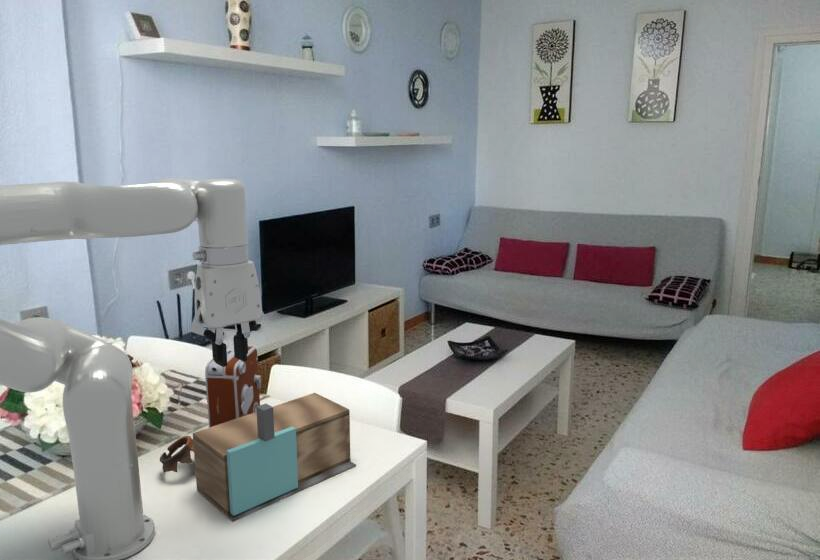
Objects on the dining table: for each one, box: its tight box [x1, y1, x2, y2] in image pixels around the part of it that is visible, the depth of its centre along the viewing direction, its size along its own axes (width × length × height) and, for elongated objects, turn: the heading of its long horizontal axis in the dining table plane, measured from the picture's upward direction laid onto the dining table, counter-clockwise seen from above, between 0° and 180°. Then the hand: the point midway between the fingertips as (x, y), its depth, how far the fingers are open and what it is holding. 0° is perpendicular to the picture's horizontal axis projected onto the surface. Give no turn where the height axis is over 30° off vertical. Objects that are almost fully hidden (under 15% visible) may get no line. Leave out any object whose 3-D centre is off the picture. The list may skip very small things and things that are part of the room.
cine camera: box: [204, 342, 262, 428], centre depth 144 cm, size 9×19×20 cm, turn 174°
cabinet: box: [192, 392, 357, 522], centre depth 125 cm, size 28×14×12 cm, turn 134°
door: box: [226, 403, 298, 516], centre depth 115 cm, size 14×2×18 cm, turn 134°
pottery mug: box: [159, 435, 194, 473], centre depth 129 cm, size 12×10×8 cm
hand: (231, 361), depth 108 cm, fingers open, 3 cm apart
